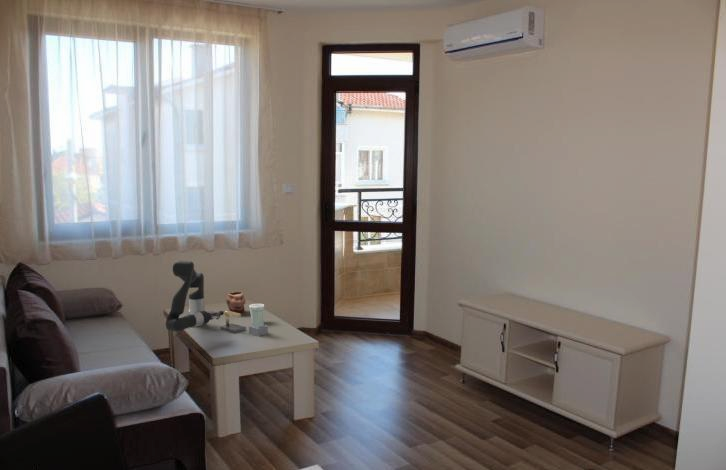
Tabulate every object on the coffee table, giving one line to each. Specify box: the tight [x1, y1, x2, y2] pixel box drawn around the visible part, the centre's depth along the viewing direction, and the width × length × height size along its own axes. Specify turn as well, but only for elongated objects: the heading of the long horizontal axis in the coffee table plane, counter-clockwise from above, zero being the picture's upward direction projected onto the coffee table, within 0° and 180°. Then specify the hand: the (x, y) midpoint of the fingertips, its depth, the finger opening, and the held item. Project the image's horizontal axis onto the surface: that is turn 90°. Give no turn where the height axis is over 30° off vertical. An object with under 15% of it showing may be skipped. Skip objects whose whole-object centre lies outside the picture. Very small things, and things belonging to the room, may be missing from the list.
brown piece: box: [224, 309, 242, 325], centre depth 377 cm, size 13×3×9 cm, turn 53°
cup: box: [248, 303, 265, 323], centre depth 394 cm, size 10×10×11 cm
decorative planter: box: [225, 291, 246, 315], centre depth 417 cm, size 20×12×14 cm, turn 37°
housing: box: [248, 324, 269, 337], centre depth 370 cm, size 8×8×5 cm
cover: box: [252, 308, 265, 328], centre depth 369 cm, size 5×5×11 cm
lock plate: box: [220, 323, 247, 334], centre depth 378 cm, size 13×9×2 cm
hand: (222, 312), depth 364 cm, fingers closed
